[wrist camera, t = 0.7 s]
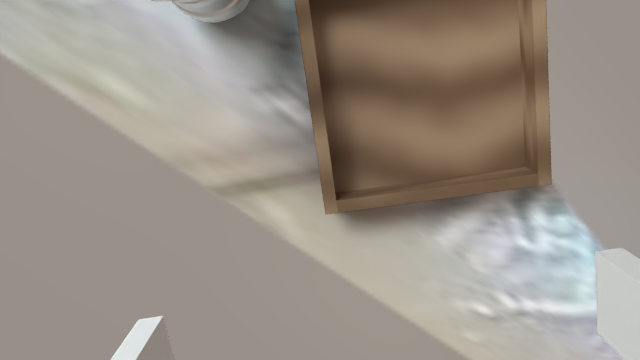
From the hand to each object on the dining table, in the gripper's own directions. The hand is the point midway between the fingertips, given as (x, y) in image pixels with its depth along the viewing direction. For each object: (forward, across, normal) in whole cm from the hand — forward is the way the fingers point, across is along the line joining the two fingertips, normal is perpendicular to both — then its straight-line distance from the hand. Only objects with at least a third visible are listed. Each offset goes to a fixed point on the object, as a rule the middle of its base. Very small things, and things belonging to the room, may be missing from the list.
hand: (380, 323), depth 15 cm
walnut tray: (+27, +7, +5) cm, 29 cm away
